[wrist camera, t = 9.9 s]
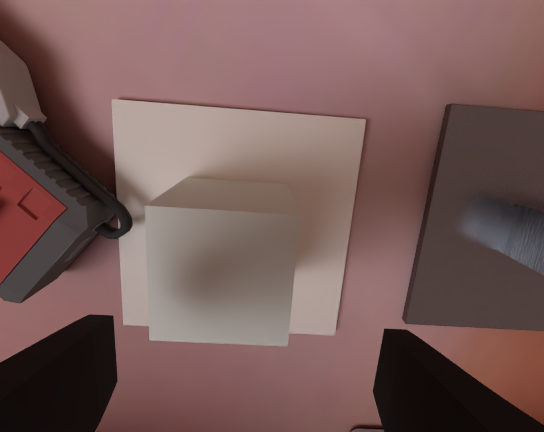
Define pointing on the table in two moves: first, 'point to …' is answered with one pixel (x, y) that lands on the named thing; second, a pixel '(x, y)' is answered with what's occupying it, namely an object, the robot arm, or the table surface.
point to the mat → (247, 167)
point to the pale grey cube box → (221, 262)
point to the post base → (483, 224)
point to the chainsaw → (42, 193)
